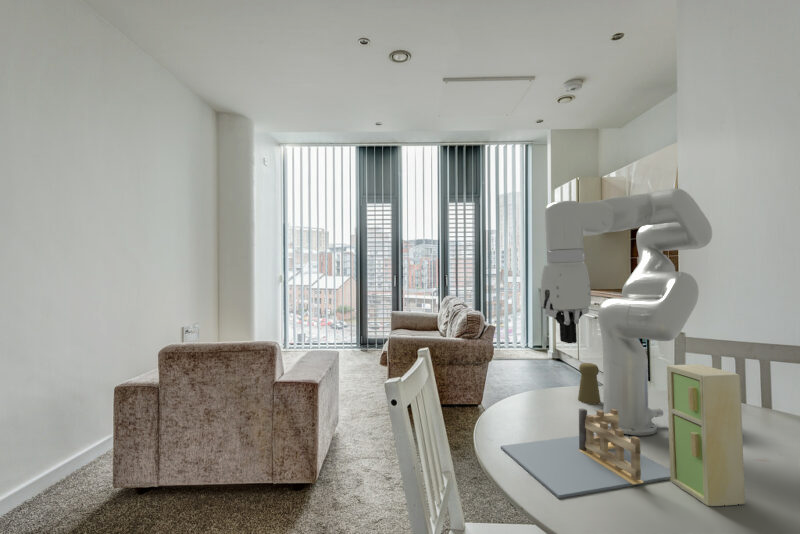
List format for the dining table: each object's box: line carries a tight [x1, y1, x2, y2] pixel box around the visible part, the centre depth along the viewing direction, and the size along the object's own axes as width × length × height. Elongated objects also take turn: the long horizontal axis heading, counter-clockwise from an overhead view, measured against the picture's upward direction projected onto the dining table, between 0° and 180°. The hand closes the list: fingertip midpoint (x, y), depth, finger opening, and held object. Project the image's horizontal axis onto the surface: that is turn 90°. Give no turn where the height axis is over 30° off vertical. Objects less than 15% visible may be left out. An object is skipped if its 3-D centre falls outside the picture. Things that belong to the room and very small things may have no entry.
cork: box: [577, 362, 601, 405], centre depth 112 cm, size 6×6×11 cm
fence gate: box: [585, 414, 642, 480], centre depth 73 cm, size 12×1×7 cm, turn 15°
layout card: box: [500, 433, 671, 499], centre depth 75 cm, size 26×20×1 cm
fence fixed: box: [578, 408, 619, 451], centre depth 81 cm, size 9×2×9 cm, turn 105°
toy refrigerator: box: [666, 363, 746, 507], centre depth 65 cm, size 8×7×21 cm
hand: (568, 341), depth 83 cm, fingers closed
